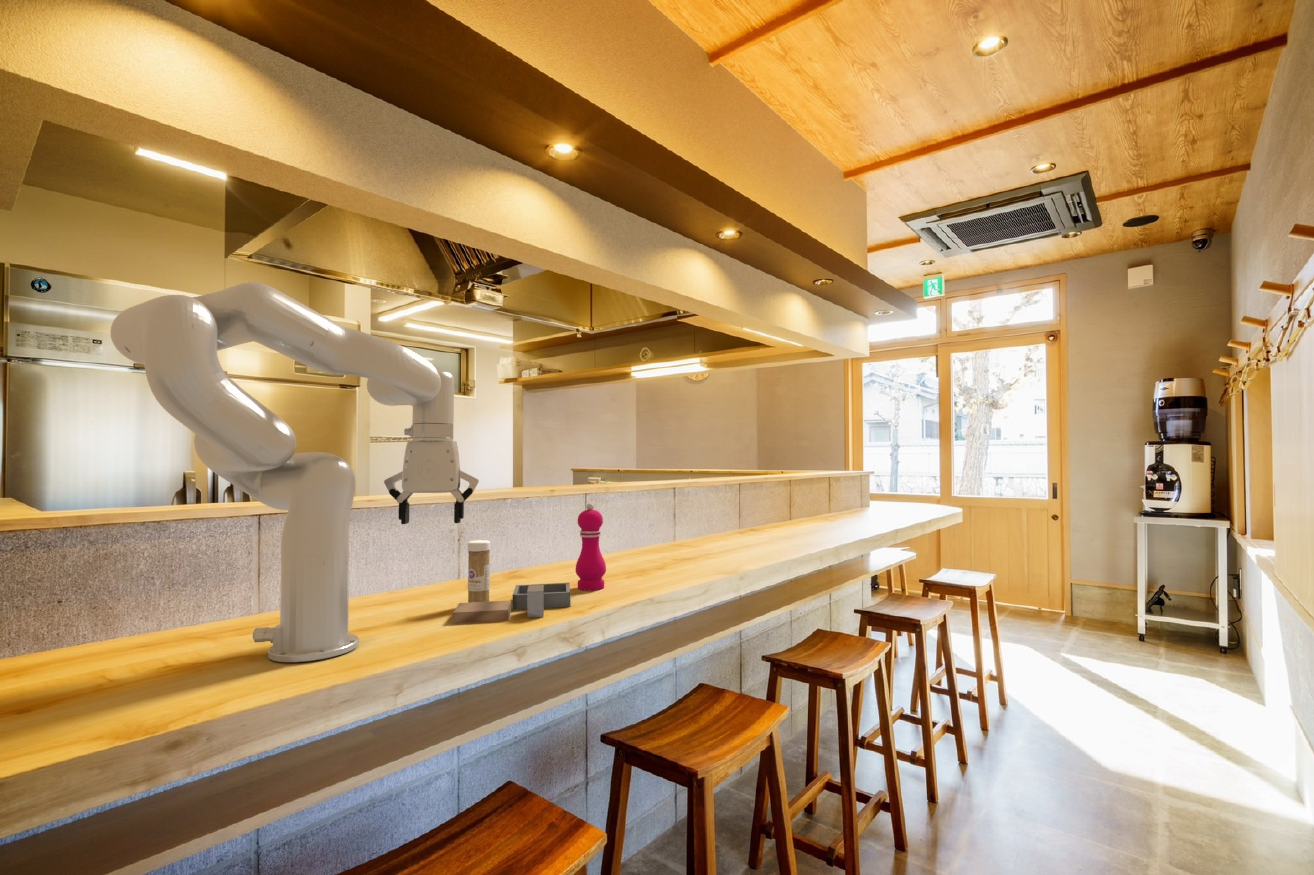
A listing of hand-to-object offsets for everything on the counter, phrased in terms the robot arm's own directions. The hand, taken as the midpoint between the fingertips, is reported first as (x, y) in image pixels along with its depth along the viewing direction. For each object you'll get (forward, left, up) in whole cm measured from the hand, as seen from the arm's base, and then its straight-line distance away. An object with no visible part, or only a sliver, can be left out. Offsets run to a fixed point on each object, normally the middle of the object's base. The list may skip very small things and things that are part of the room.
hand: (431, 523), depth 117 cm
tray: (+21, +10, -18) cm, 29 cm away
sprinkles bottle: (+8, +10, -19) cm, 22 cm away
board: (+10, 0, -19) cm, 21 cm away
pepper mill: (+32, +23, -19) cm, 43 cm away
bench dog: (+20, 0, -18) cm, 27 cm away
